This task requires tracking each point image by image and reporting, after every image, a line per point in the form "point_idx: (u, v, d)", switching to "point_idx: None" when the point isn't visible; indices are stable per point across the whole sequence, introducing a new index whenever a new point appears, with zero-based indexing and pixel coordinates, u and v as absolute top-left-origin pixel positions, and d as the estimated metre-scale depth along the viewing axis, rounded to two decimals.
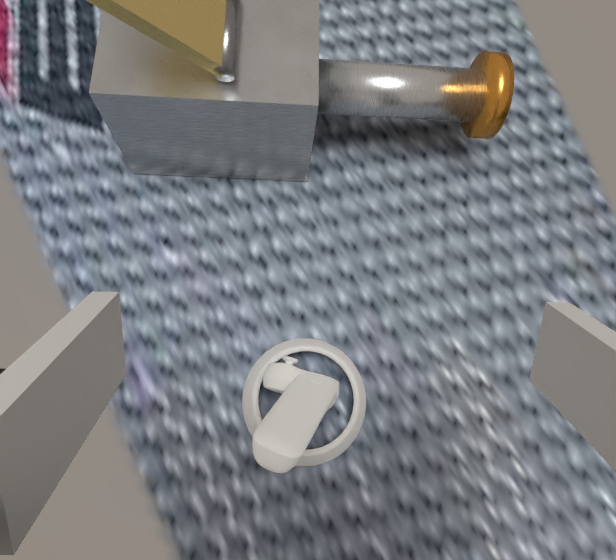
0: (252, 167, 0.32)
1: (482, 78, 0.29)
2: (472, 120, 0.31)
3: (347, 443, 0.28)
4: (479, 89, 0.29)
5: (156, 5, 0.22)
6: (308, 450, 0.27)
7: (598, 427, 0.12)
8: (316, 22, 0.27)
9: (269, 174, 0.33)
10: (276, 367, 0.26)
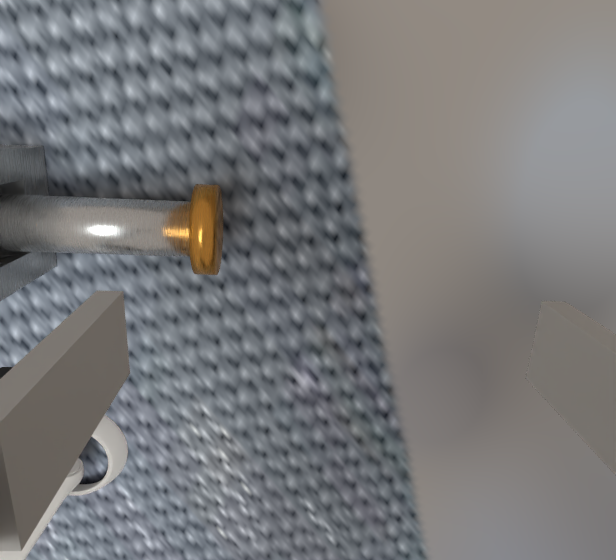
0: None
1: (187, 235, 0.26)
2: None
3: (109, 482, 0.38)
4: (184, 246, 0.27)
5: None
6: (75, 492, 0.37)
7: (592, 425, 0.12)
8: None
9: None
10: None
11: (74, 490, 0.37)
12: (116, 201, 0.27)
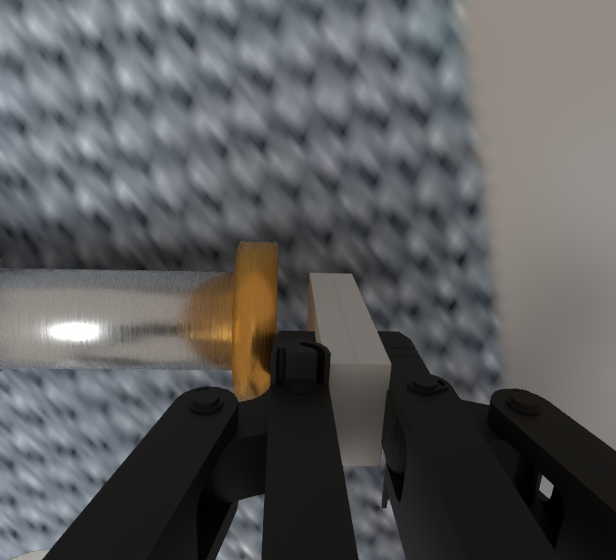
0: None
1: (226, 341, 0.14)
2: None
3: None
4: (221, 359, 0.15)
5: None
6: None
7: None
8: None
9: None
10: None
11: None
12: (94, 278, 0.15)
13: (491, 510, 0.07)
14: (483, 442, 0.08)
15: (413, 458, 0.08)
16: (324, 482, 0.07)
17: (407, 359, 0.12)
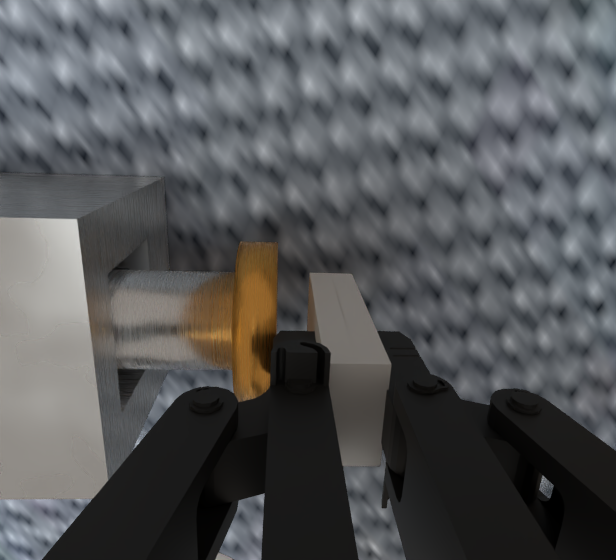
0: None
1: (226, 341, 0.14)
2: None
3: None
4: (221, 359, 0.15)
5: None
6: None
7: None
8: (82, 316, 0.12)
9: None
10: None
11: None
12: None
13: (491, 510, 0.07)
14: (482, 443, 0.08)
15: (413, 458, 0.08)
16: (324, 483, 0.07)
17: (407, 359, 0.12)
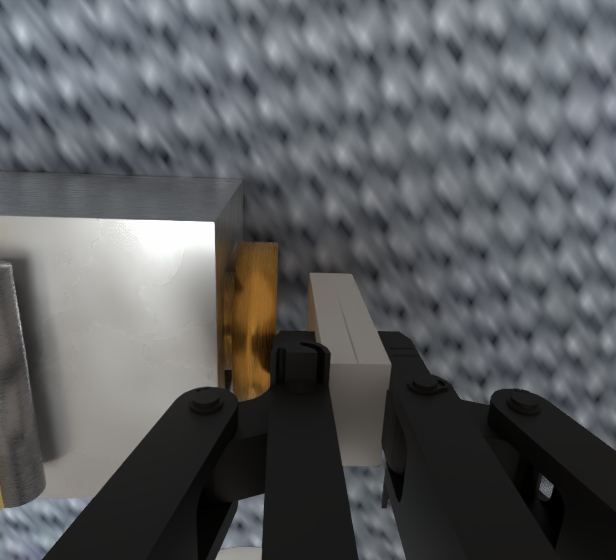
0: None
1: (226, 341, 0.14)
2: None
3: None
4: None
5: None
6: None
7: None
8: (210, 317, 0.12)
9: None
10: None
11: None
12: None
13: (491, 510, 0.07)
14: (482, 442, 0.08)
15: (413, 458, 0.08)
16: (325, 483, 0.07)
17: (407, 359, 0.12)
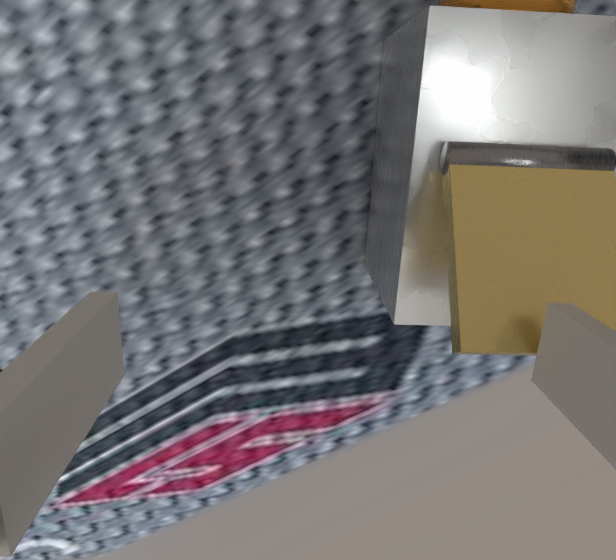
0: None
1: None
2: None
3: None
4: None
5: (596, 268, 0.16)
6: None
7: (600, 428, 0.12)
8: (498, 14, 0.17)
9: None
10: None
11: None
12: None
13: None
14: None
15: None
16: None
17: None
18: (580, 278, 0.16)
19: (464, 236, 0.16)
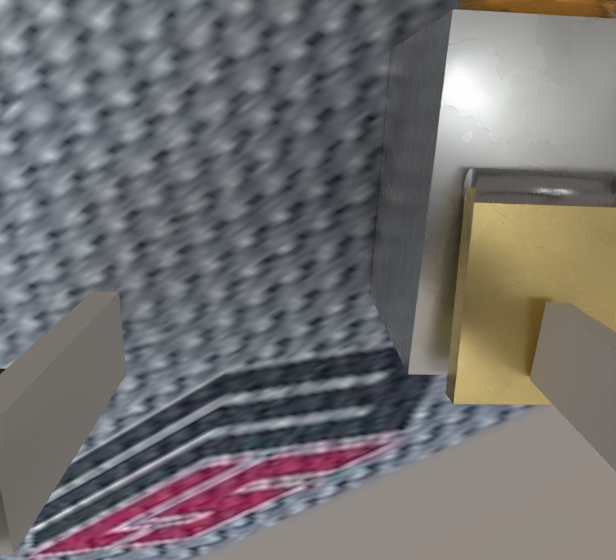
0: None
1: None
2: None
3: None
4: None
5: (609, 322, 0.16)
6: None
7: (598, 427, 0.12)
8: (533, 19, 0.14)
9: None
10: None
11: None
12: None
13: None
14: None
15: None
16: None
17: None
18: None
19: (476, 288, 0.15)
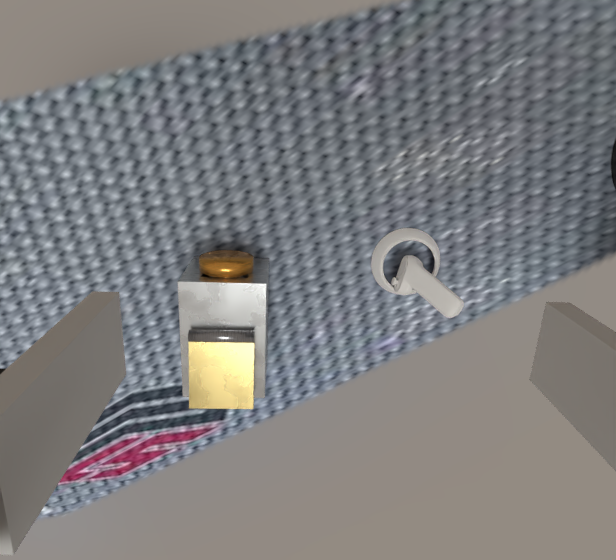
0: None
1: (224, 276, 0.45)
2: None
3: (432, 241, 0.51)
4: None
5: (241, 380, 0.45)
6: (435, 264, 0.51)
7: (598, 427, 0.12)
8: (204, 283, 0.44)
9: (268, 284, 0.52)
10: (400, 291, 0.49)
11: (434, 265, 0.52)
12: None
13: None
14: None
15: None
16: None
17: None
18: (234, 383, 0.45)
19: (192, 369, 0.45)
